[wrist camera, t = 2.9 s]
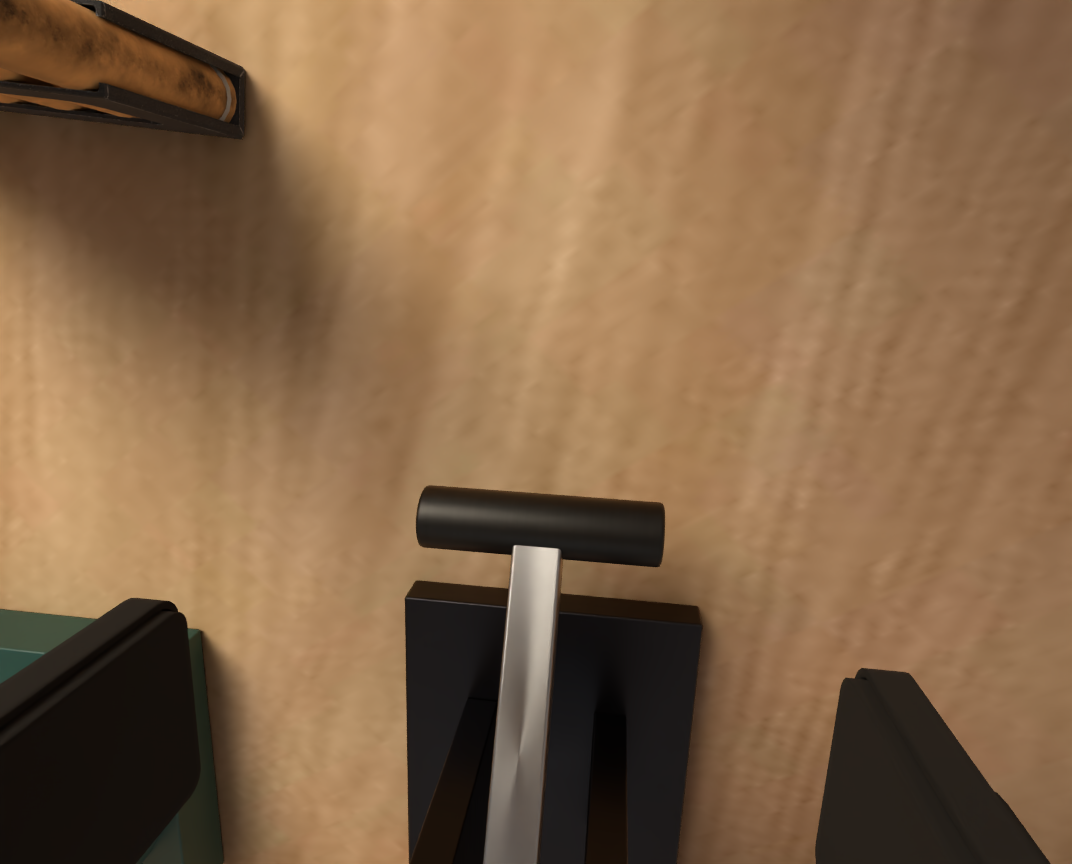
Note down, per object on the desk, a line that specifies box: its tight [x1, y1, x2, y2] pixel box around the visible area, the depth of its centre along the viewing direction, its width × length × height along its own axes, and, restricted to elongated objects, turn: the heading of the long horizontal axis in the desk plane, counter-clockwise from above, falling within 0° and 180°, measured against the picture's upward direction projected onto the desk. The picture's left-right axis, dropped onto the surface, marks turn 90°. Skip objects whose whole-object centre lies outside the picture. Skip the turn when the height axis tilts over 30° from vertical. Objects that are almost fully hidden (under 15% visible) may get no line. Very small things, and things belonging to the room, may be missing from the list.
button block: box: [0, 609, 224, 864], centre depth 23 cm, size 10×8×4 cm
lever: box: [416, 485, 665, 864], centre depth 14 cm, size 13×6×2 cm, turn 177°
